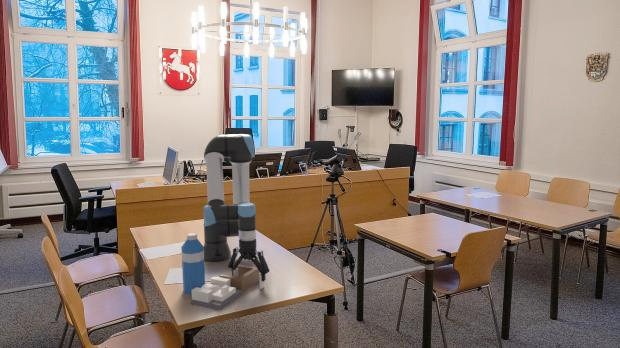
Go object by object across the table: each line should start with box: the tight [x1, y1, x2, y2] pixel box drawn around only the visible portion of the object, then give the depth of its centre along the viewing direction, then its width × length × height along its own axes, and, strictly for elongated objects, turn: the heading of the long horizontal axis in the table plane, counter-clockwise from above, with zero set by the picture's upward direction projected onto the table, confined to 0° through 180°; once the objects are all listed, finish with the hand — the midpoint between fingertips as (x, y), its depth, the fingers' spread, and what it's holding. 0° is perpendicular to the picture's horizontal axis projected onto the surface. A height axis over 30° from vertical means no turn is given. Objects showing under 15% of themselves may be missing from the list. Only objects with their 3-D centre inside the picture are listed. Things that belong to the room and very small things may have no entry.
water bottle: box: [180, 232, 206, 296], centre depth 197 cm, size 9×9×25 cm
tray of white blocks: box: [190, 276, 243, 311], centre depth 190 cm, size 14×16×10 cm
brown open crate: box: [219, 264, 260, 293], centre depth 204 cm, size 11×15×6 cm
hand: (248, 285), depth 203 cm, fingers open, 12 cm apart
